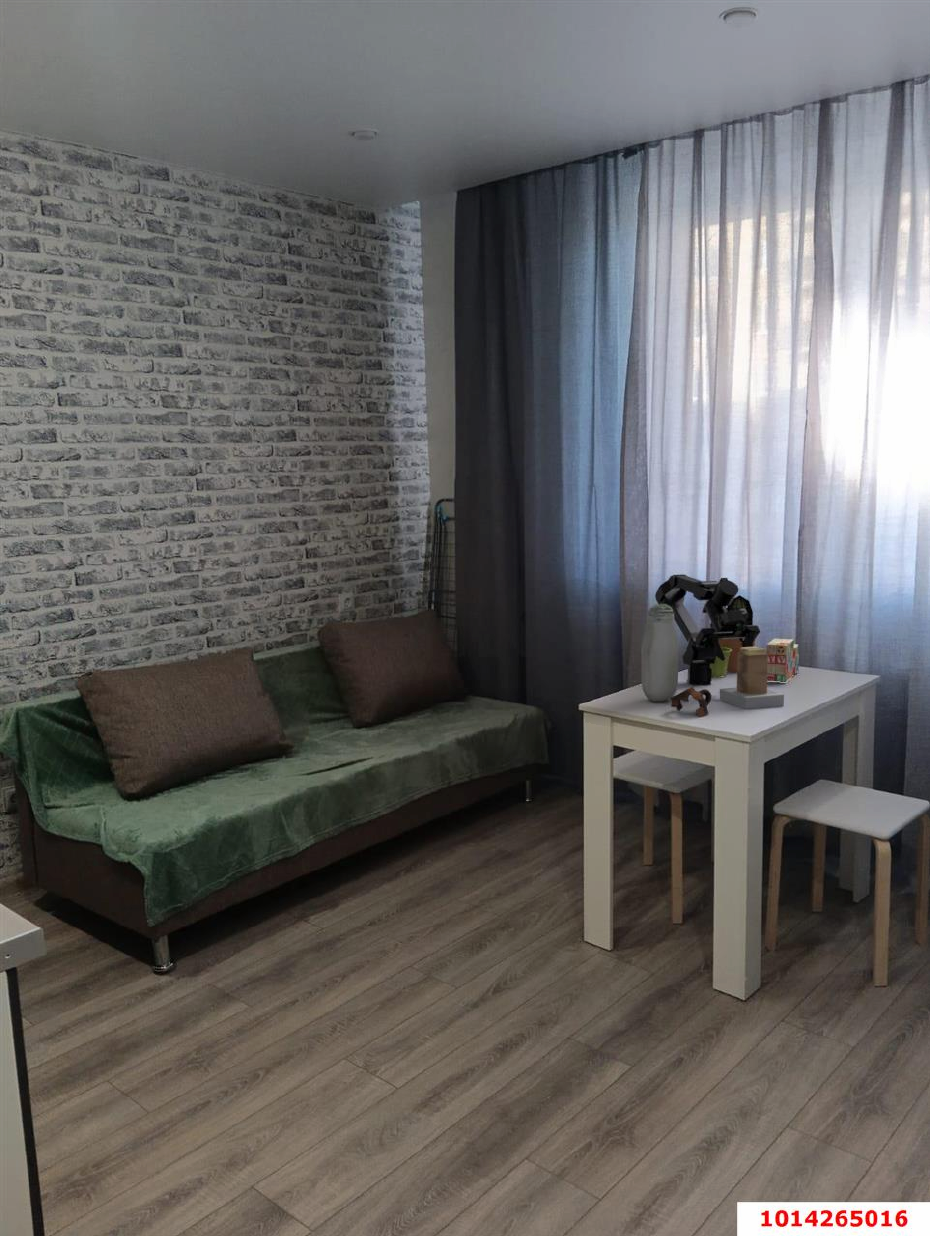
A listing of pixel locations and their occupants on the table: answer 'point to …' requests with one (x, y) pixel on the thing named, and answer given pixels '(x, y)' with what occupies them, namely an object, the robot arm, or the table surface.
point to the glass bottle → (660, 654)
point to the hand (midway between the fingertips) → (738, 658)
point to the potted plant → (735, 643)
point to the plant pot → (721, 664)
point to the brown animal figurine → (696, 695)
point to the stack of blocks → (782, 659)
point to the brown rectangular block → (752, 670)
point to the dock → (751, 698)
